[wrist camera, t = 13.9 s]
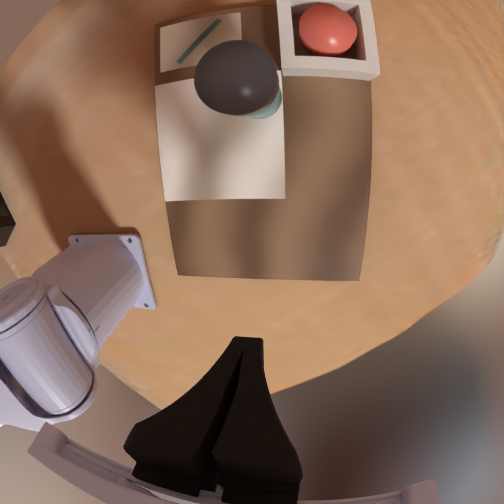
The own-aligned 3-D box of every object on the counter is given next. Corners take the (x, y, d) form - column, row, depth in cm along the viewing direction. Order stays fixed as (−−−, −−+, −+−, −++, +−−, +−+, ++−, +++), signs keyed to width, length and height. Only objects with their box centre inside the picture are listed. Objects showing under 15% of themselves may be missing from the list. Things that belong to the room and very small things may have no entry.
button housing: (283, 76, 15) (281, 68, 13) (277, 5, 13) (275, -10, 10) (369, 80, 14) (379, 74, 12) (361, 10, 12) (369, -3, 9)
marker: (236, 121, 17) (195, 118, 10) (234, 77, 15) (192, 46, 8) (284, 119, 16) (278, 112, 9) (282, 74, 15) (274, 37, 8)
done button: (300, 58, 14) (301, 49, 12) (297, 16, 12) (297, 3, 11) (352, 61, 13) (359, 53, 11) (347, 19, 12) (353, 7, 10)
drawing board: (182, 269, 24) (177, 276, 23) (160, 28, 15) (154, 24, 14) (356, 274, 22) (359, 281, 20) (359, 14, 13) (362, 9, 11)
